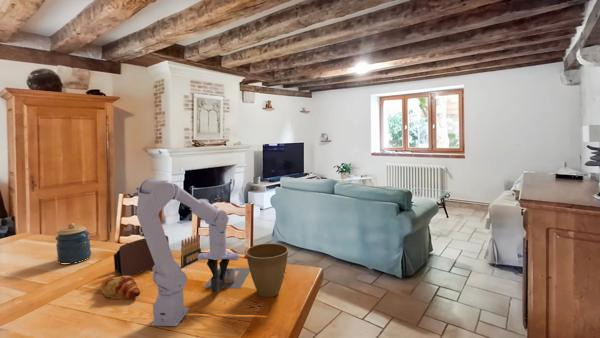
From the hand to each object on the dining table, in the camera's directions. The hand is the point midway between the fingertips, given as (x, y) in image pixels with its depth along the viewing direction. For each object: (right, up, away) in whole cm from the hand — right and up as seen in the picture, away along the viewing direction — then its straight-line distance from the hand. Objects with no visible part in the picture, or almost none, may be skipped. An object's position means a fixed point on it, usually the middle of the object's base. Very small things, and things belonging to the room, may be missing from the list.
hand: (219, 278), depth 116 cm
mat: (+1, -4, +11) cm, 12 cm away
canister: (-76, -3, +34) cm, 83 cm away
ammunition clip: (-20, -2, +28) cm, 34 cm away
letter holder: (-39, -3, +24) cm, 46 cm away
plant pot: (+18, -5, -1) cm, 19 cm away
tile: (+1, -3, +6) cm, 7 cm away
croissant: (-36, -6, +1) cm, 37 cm away
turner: (0, -2, +1) cm, 2 cm away
